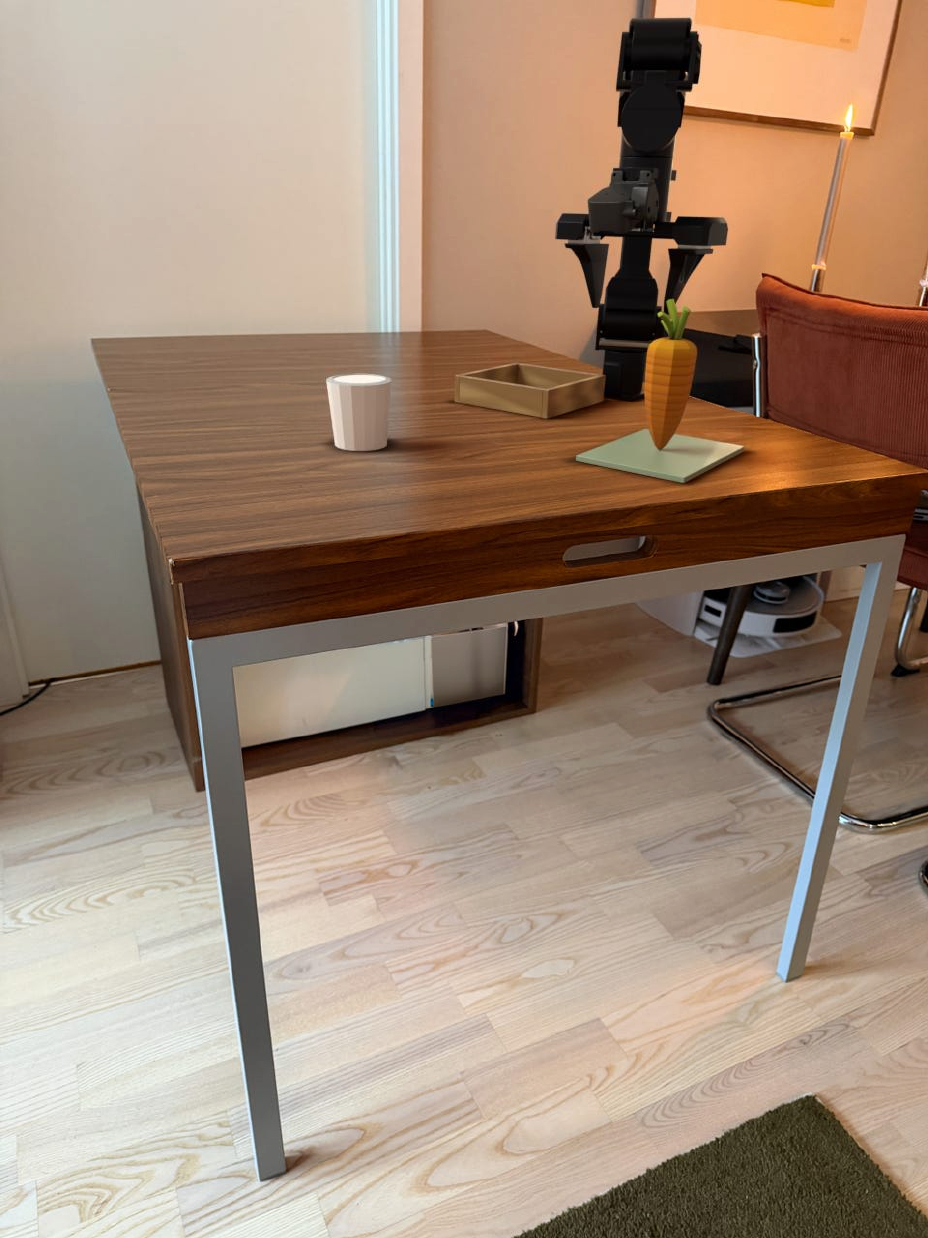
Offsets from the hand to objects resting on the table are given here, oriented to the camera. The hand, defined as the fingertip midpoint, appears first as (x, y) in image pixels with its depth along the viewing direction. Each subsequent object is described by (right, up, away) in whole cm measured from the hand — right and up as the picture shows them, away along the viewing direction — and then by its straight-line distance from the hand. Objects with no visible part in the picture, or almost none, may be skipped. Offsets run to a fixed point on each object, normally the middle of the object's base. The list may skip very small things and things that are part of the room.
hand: (630, 311), depth 97 cm
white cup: (-31, -17, -7) cm, 36 cm away
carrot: (+2, -18, -8) cm, 20 cm away
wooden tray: (-10, -6, +16) cm, 20 cm away
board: (+2, -19, -8) cm, 20 cm away
